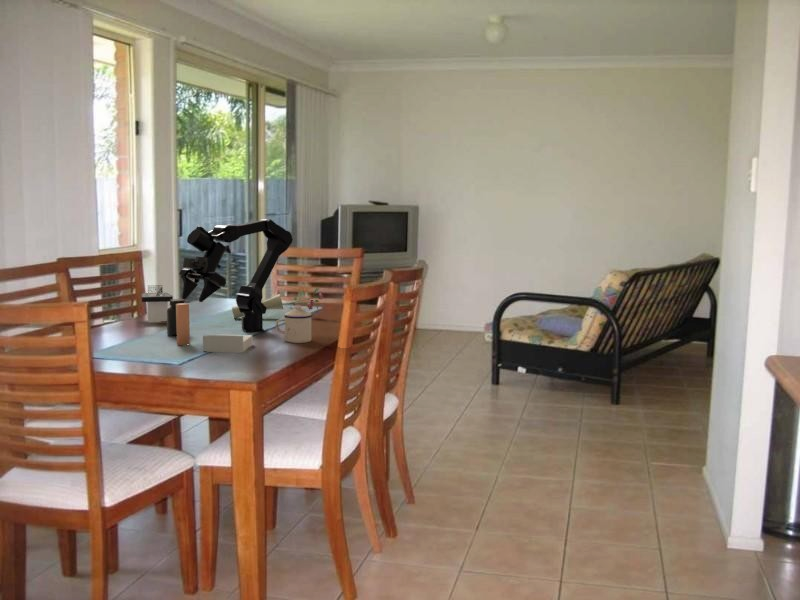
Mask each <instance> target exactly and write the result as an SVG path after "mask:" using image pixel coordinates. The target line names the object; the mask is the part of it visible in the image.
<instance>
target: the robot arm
mask: <svg viewBox="0 0 800 600" xmlns="http://www.w3.org/2000/svg"><path fill="white" fill-rule="evenodd" d="M260 232H262V233H263V235H264V237H265V238H266V239H267V240H266V252H264V255H263V256H262V258H261V261H260V263H259V264H258V266H257V268H256V270H255V272H254V274H253V276H252V277H251V280H250V282H249V284H247V285H243V284H242V285H241V286H240V288H239V291H238V292H237V293H236V294H235V295H236V298H235V302H236V306H238V307H239V310H240V312H241V313H242V312H243V316H242V317H241V330H242V331H244V332H245V331H246V333H248V332H249V333H250V332H265V329H264V328H263V320H264V319H263V315H265V314H266V312H267V310H266V309H267V308H266V307H265V305H264V304H263V303H262V301H263V300H262V299H263V298H264V297H263V289H264V287H265V285H266V283H267V281H268V279H269V277H270V275H271V274H272V271H273V270H274V267H275V266H276V263H277V261H278V260H279V258H280V256H281V255H282V254H284V253H285V252H286V251H287V250H288V249H289V248H290V246H291V245H292V244H293V240H294V238H293V236H292V232H291V231H289V230H286V229H285V228H284V227H282V226H280V225H279V224H277V223H276V222H275V221H274V220H272V219H270V218H261V219H259V220H254V221H250V222H245V223H240V224H233V225H232V224H217V225H215V226H213V229H211V230H210V231H207V230H206V229H205V228H204V227H203V226H201V225H198V226H196V228H195V229H194V230H192V231H191V232H190V233H189V234H188V235H187V238H186V241H187V243H188V244H189V245H191V247H193V248H195V249H197V250H198V251H200V252H202V253H204V254H203V256H196V257H195V258H191V257H184V258H183V263H182V268H181V270H180V271H179V273H178V275H179V276H180V279H182V282H183V287H182V299H183V300H184V301H185V300H186V299H188V297H189V296H190V295H191V293H192V292H194V290H195V289H196V288H197V286H199V284H198V283H199V282H200V281H203V288H202V289H201V292H200V295H199V299H198V301H199V303H203V302H204V301H206V299H207V298H209V297H210V296H212V295H213V294H214V293H216V292H217V291H219V290H220V289H222V288H225V287H226V284H227V279H226V277H224V276H223V275H222V274H220V273H219V272H217V269H218V270H219V269H221V267H222V265H220V263H221V261H222V259H223V257H224V254H232V251H231V249H230V245H228V244H223V243H229V244H230V243H233V242H235V241H237V240H239V239H240V238H242V237H245V236H248V235H253V234H257V233H260Z"/></svg>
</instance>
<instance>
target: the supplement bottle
mask: <svg viewBox="0 0 800 600" xmlns="http://www.w3.org/2000/svg"><path fill="white" fill-rule="evenodd" d="M181 303H185V300H184V299H180V298H177V299H176V298H173V299H172V300H170V301H169V306H170V307H168V309H167V322H166V334H167V336H170V335H177V328H176V304H181Z"/></svg>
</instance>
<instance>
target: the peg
mask: <svg viewBox="0 0 800 600" xmlns="http://www.w3.org/2000/svg"><path fill="white" fill-rule="evenodd" d="M176 328H177V336H176V345H177V344H178V345H186V346H188V345H187V344H190V345H191V342H190V341H191V340H190V339H191V338H190V337H191V336H190V335H191V334H190V329H191V328H190V303H185V302H184V303H181V304H176ZM178 345H177V346H178Z"/></svg>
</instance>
